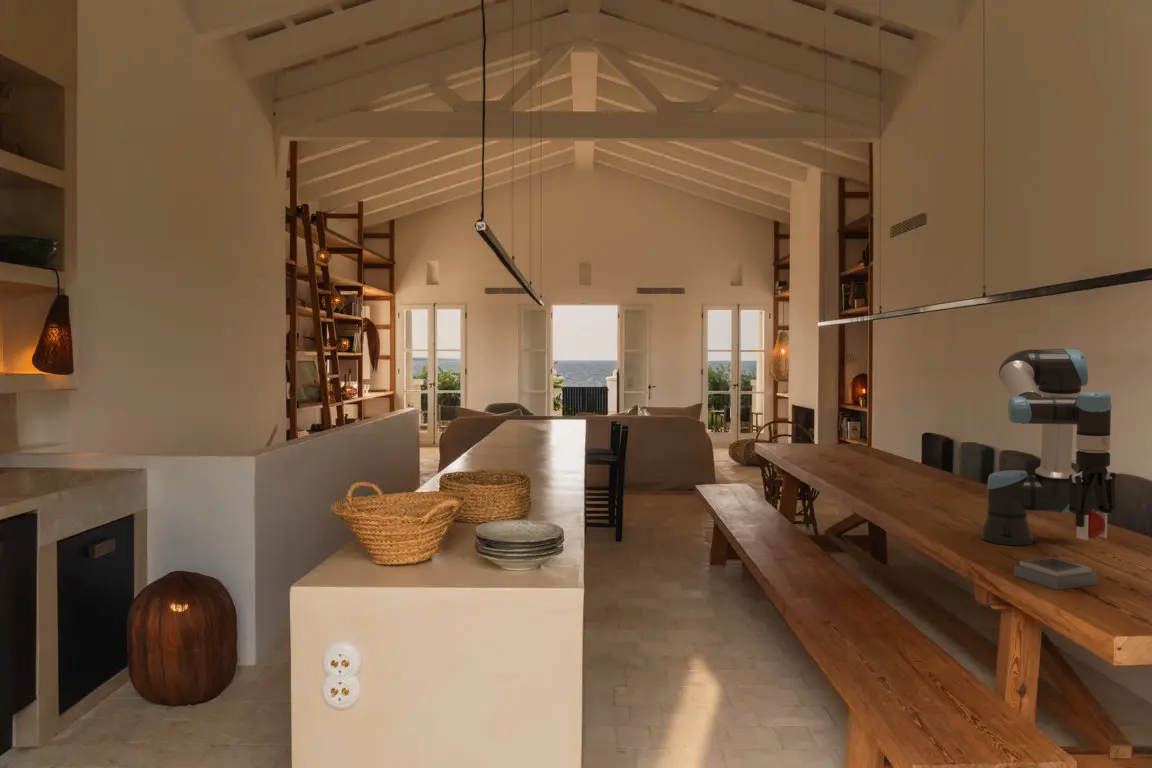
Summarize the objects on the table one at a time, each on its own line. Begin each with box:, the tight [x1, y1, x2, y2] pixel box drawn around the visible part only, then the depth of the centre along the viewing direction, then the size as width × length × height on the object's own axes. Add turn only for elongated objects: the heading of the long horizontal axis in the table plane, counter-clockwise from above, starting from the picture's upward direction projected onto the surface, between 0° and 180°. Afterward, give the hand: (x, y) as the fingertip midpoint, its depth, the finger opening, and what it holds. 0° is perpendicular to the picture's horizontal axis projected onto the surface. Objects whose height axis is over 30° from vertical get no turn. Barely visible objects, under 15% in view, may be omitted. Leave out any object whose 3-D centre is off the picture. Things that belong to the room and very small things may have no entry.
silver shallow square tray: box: [1013, 556, 1098, 591], centre depth 220 cm, size 14×14×4 cm
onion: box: [1085, 508, 1105, 540], centre depth 208 cm, size 6×6×8 cm
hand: (1091, 537), depth 209 cm, fingers closed on onion, 6 cm apart
